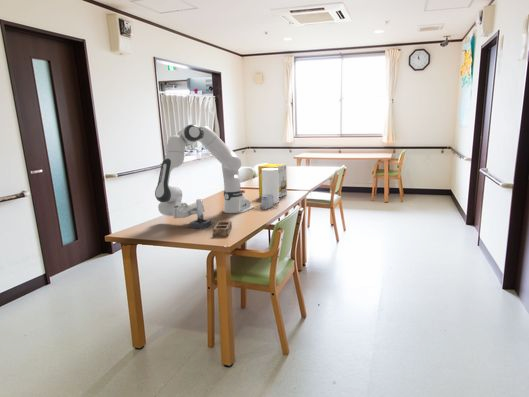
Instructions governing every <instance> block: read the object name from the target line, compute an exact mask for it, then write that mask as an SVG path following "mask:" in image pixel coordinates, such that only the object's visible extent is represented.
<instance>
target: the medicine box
mask: <svg viewBox="0 0 529 397" xmlns="http://www.w3.org/2000/svg"><path fill="white" fill-rule="evenodd" d="M260 198H261V209H263V208H264V210H267V208H268V209H270V207H271V208H274V204H273V195H265V196H262V197H260Z"/></svg>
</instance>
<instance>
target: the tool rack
mask: <svg viewBox="0 0 529 397" xmlns="http://www.w3.org/2000/svg"><path fill="white" fill-rule="evenodd" d="M232 227H233V225H232V221H217V222H216V224H215V225H214V227H213V231H212V232H213V237H229V235H230V233H231V231H232V229H233V228H232Z"/></svg>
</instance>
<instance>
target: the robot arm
mask: <svg viewBox="0 0 529 397" xmlns="http://www.w3.org/2000/svg"><path fill="white" fill-rule="evenodd" d="M196 142H199V143H200V144H202V145H203V147H205V149H206V150H207V151H208V152H209V153H210V154H211V155H212V156H213V157H214V158H215V159H216V160H217V161H218V162H219V163H220V164H221V169H222V177H223V178H222V179H223V187H224V188H223V190H224V191H223V208H222V211H223V212H224V213H226V214H238V213H241V214H242V213H246V212H248V211H250V210H252V208H253V209H254V206H253V205H251V200H250V199H249V198H247V197H246V196H245V195H244V194H245V193H246V190H245V189H241V178H240V172H239V169H241V166H242V161H241V158H240V157H239V156H238V155H237V154H236V153H235V152H234V151H233V150H232V149H231V147H229V146H228V145H227V144H226V143H225V142H224V141H223V140H222V139H221V138H220V137H219V135H218V134H217V133H216V132H215V131H214V130H212V129H211V128H210V127H209V126H207V125H201V126H198V125H196V124H188V125H187V126H184V127H183V128H182V129H181V130H180V131H179V132H178V134H174V135H171V136H169V137H168V140H167V143H166V150H165V157H164V159H163V161H162V163H161V166H160V171H159V175H158V181H157V186H156V188H155V190H154V197H155V199H156V200H157V201H158V202H159V203H158V206H157V208H158V212H159V213H160V214H161V215H164V216H167V217H173V219H185V218H187V217H188V218H189V217H190V216H193V215H197V214H199V213H200V211H197V205H196V203H195V204H194V203H193V204H190V205H188V203H187V202H182V199H183V191H182V190H181V188H179V187H176V186H170V184H169V183H170V179H171V178H170V177H171V172H172V171H173V170H174V169H175V168H178V167H181V166H182V165H183V163H184V160H185V150H186V147H187V146H188V147H189V146H191V145H193V144H195V143H196ZM204 212H205V207H204V206H203V213H204Z"/></svg>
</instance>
